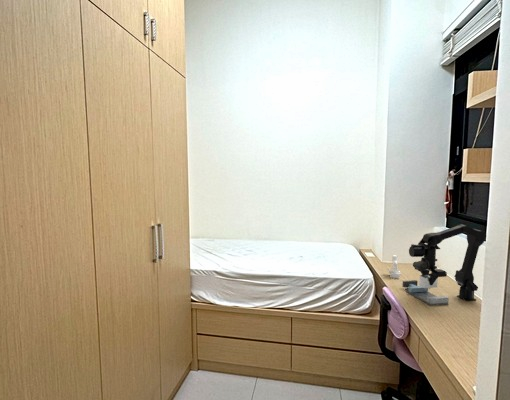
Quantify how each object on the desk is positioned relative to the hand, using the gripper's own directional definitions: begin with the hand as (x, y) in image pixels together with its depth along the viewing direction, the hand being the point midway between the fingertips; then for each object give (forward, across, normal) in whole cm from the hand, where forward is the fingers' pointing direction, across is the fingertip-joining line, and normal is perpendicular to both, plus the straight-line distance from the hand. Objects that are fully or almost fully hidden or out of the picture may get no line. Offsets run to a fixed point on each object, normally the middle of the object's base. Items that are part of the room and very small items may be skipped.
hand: (428, 283), depth 161 cm
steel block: (+2, 0, 0) cm, 2 cm away
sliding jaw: (+7, -11, 0) cm, 13 cm away
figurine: (+9, -34, +3) cm, 35 cm away
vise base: (+8, -1, 0) cm, 9 cm away
